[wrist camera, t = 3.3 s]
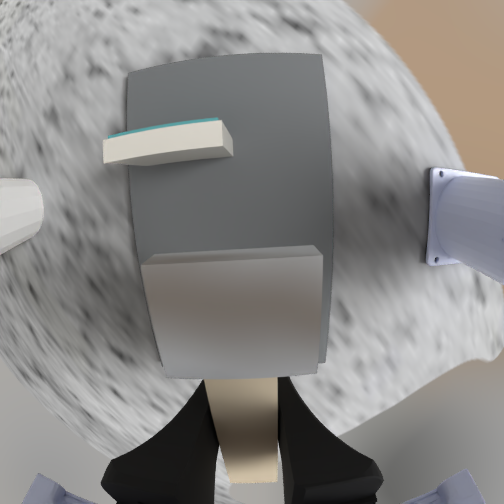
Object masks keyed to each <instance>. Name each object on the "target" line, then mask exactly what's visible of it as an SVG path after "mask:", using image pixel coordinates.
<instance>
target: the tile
mask: <svg viewBox="0 0 504 504" xmlns="http://www.w3.org/2000/svg"><path fill="white" fill-rule="evenodd" d="M221 157H233V139H232V137H231V135H230V134H229V132H228V130H227V128H226V127H225V125H224V123H223V122H222V120H219V119H218V117H216V118H207V119H198V120H190V121H183V122H176V123H169V124H163V125H158V126H152V127H147V128H142V129H137V130H132V131H127V132H123V133H118V134H114V135H110V136H108V139H106V140H103V161H104V163H105V164H125V165H140V166H151V165H158V164H165V163H173V162H181V161H190V160H199V159H209V158H221Z"/></svg>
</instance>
